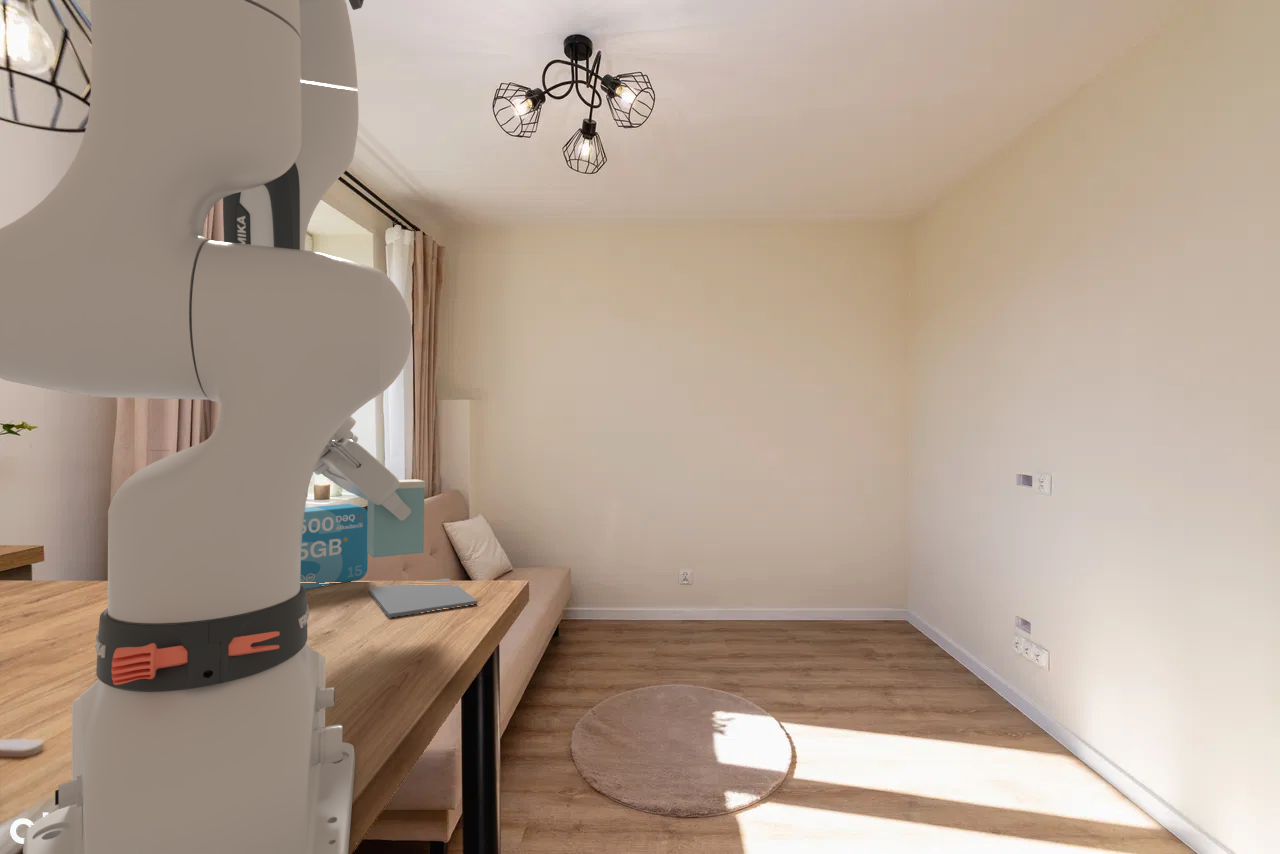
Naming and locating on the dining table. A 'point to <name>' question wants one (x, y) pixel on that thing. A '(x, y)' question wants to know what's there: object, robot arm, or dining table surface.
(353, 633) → the dining table surface
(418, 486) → the tea tin
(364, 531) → the data package
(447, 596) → the felt mat
